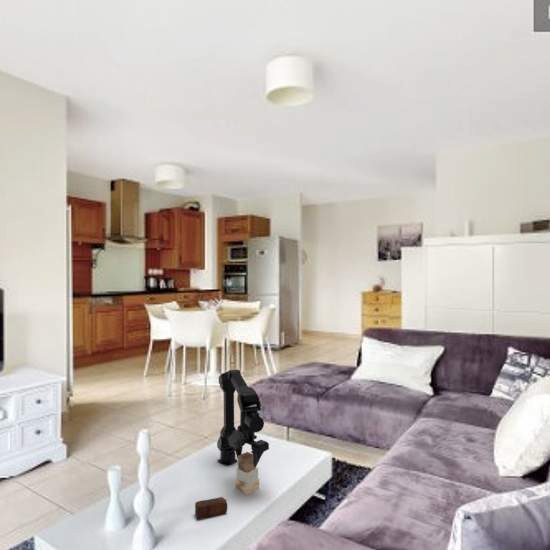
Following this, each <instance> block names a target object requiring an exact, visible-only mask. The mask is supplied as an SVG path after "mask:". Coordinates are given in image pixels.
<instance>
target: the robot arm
mask: <svg viewBox="0 0 550 550" xmlns="http://www.w3.org/2000/svg"><path fill="white" fill-rule="evenodd" d="M218 384H219V387H220V389H221V391H222V393H223V427H222V428H221V430H220V432H219V437H218V439H217V442H216V447H217V449H218V450H219V451H220V455H219V456H220V458H219V459H217V462H218V463H220V464H222V465H225V466H230V465H232V464H235V463H236V462H237V463H238V455H241V454H243V447H244V446H245V445H246V444H247V445H250V447H251V448H250V449H251V451H250V453H251V454H253V464H254V467H257V465H258V464H259V462H260V460H261V457H262V455H264V452H266V451H268V450H269V449H270V443H269V442H268V441H266V440H263V439H259V440H257V441H256V439H257V438H258V437H257V435H255V434H256V433H258V432H261V431H262V430H263V429H264V426H265V421H264V419H263V418H262V417H261V416H260V413H259V411H262V408H261V407H262V404H261V400H260V397H259V396H260V395H258V393H257V392H256V390H255V389H254V388H253V387H250V386H249V385H248V384H247V382H246V381H245V379H244V378H243V376H242V373H241V370H240V369H238V368H237V369H229V370H227V371H226V372H223V373H220V375H219V376H218ZM235 392H236V393H237V398H236V400H237V401H236V402H237V404H238V407H239V410H240V412H239V413H240V415H239V417H240V418H239V419H240V420H239V423H240V424H239V425H238V426H237V428H236V427H235Z"/></svg>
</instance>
